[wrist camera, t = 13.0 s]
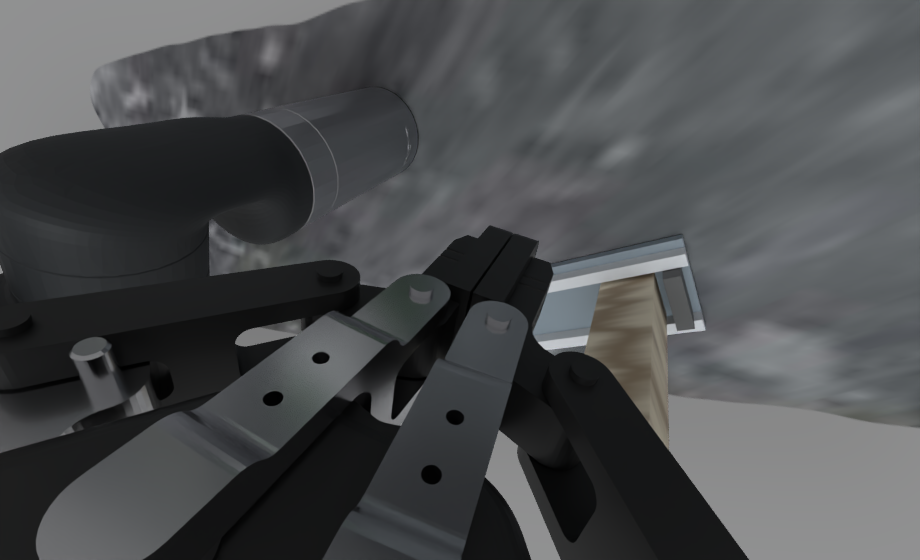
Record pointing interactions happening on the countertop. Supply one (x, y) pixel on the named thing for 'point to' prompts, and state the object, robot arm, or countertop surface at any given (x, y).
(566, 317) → the chute
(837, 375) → the countertop surface
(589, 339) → the block
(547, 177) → the countertop surface
